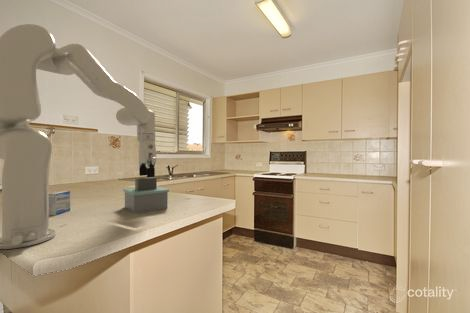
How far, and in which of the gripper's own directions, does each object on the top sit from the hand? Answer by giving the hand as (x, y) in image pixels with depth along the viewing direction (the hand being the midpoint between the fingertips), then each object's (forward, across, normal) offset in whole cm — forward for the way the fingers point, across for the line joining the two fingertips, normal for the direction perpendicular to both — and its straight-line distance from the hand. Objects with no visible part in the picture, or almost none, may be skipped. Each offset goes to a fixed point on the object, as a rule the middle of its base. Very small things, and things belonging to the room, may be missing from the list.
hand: (146, 176), depth 98 cm
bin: (+15, 0, +1) cm, 15 cm away
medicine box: (+15, +17, +31) cm, 38 cm away
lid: (+7, 0, +1) cm, 7 cm away
